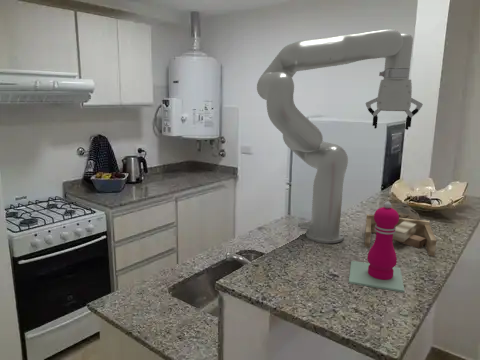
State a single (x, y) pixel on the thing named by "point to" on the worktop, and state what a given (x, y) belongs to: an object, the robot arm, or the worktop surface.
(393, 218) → the pepper mill
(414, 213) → the clay tablet
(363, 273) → the green mat
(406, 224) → the birch offcut
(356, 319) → the worktop surface
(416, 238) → the walnut offcut
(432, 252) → the oak rack
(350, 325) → the worktop surface
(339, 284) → the worktop surface
